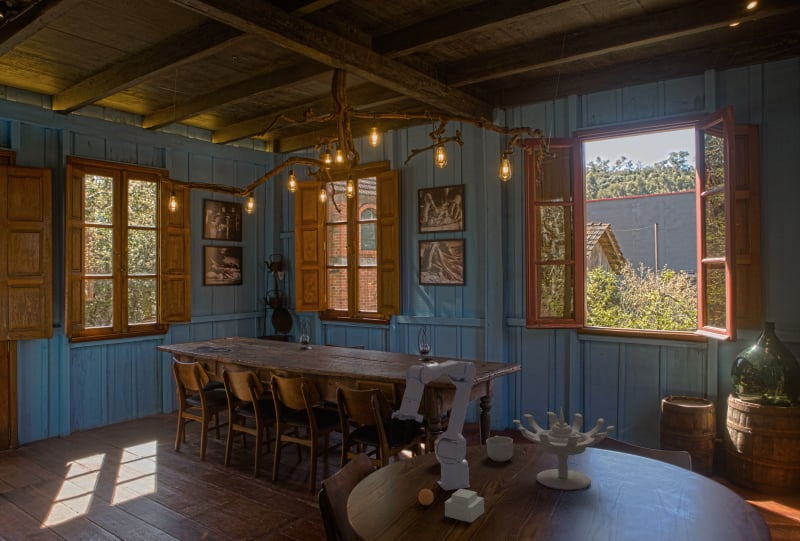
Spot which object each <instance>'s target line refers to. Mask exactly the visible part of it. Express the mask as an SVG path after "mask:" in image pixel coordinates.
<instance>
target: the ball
mask: <svg viewBox="0 0 800 541" xmlns="http://www.w3.org/2000/svg"><path fill="white" fill-rule="evenodd" d="M434 495H435V494H434V493H433V491H432V490H431V489H428V488H423V489H421V490H420V491H419V493H418V501H419V503H420V504H421V505H422V506H429V505H431V504H432V503H433V502H434V498H435V496H434Z"/></svg>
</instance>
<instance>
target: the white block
mask: <svg viewBox="0 0 800 541" xmlns="http://www.w3.org/2000/svg"><path fill="white" fill-rule="evenodd" d="M484 513H485V498H484V497H482V496H478V492H477V491H474V490H469V489H465V488H460V489H457V491H454V493H452V494H451V497H450V498H448V499H447V500H446V501H444V517H447V518H452V519H455V520H458V521H462V522H463V521H464V522H467V523H474V521H475V520H477V519H478V518H480V517H481V515H482V514H484Z"/></svg>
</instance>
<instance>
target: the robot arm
mask: <svg viewBox="0 0 800 541" xmlns="http://www.w3.org/2000/svg"><path fill="white" fill-rule="evenodd" d="M442 374H446V376H447V377H448V380H449V381H450V382H451V383H452V385H454V386H455V388H456V390H455V395H454V398H453V399H454V400H453V402H452V407H451V411H450V414H449V415H450V416H449V421H448V425H447V429H446V431H444V432H443V433H441V434H440V436H439V437H438V439H439V441H438V442H437V444H436V454H437V456H438V457H439V460H441V463H440V480H438V481H436V482H437V484H438V485H439V486H440V487H441V488H442V489H443V490H444V491H450V490H452V491H453V490H459V489H465V488H470V487H471V486H470V470H469V468H470V467H469V464H468V461H467V460H466V459H465V458H466V455H467V439H466V438H465V437H464V436H463V435H462V432H463V429H464V424H465V419H466V415H467V409H468V406H469V401H470V397H471V396H470V395H471V392H472V388H473V387H474V383H475V379H476V375H477V368H476V365H475V364H474V362H472V361H461V360H459V361H458V360H452V359H450V360H446V361H444V362H443V361H442V362H441V363H438V362H436V361H435V360H429V361H428V362H427V363H424V362H423V363H420V365H417V364H416V365H415V364H414V365H411V366H410V367H408V370H406V372H405V376H406V381H405V385H406V387H405V391H404V394H403V397H402V401H401V403H400V404H401V405H400V408H399V410H398V409H397V410H396V412H392V414H391V417H389V419H388V422H389V427H390V430H389V431H390V434H389V435H390V436H389V441H390V442H392V443H394V444H397V442H398V440H399V437H400V434H401V431H402V430H403V429H404V426H405V432H404V438H403V444H405V445H409V446H410V445H411V443H412V442H413V441H414V440H413V439H414V438H415V436H416V435H417V433H418V432H419V431H420V429H421V428H423V424H422V423H423V420H424V415H422V414H418V412H419V411H418V410H419V408H420V405H421V404H420V403H421V401H422V397H423V393H424V389H425V385H428V384H429V383H430V381H433V380H436V379H439V378H440V377H441V375H442ZM452 441H456V442H452ZM457 442H458V443H457ZM436 454H435V455H436Z"/></svg>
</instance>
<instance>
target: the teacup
mask: <svg viewBox="0 0 800 541" xmlns="http://www.w3.org/2000/svg"><path fill="white" fill-rule="evenodd" d="M485 443H486V452H487V456H488V457H489V458H490V459H491V460H492V461H495V462H499V463H503V462H507V461H509V460H510V459H511V458H512V457H513V455H514V439H513V438H511V437H508V436H499V435H495V436H492V437H489V438H487V439H486V440H485Z"/></svg>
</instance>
